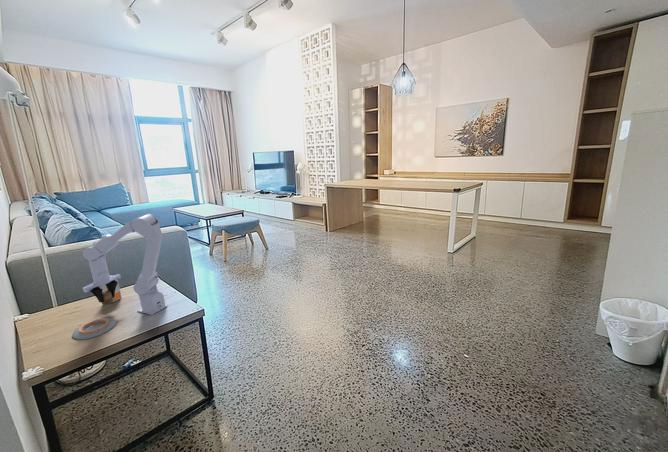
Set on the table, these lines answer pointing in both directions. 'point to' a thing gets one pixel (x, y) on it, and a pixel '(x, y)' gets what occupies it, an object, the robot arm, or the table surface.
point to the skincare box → (117, 291)
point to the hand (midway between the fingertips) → (107, 299)
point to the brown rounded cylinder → (107, 297)
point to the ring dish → (94, 328)
